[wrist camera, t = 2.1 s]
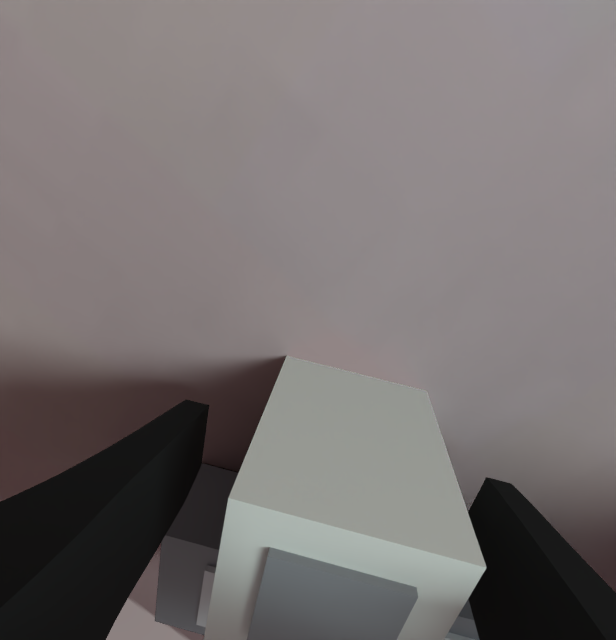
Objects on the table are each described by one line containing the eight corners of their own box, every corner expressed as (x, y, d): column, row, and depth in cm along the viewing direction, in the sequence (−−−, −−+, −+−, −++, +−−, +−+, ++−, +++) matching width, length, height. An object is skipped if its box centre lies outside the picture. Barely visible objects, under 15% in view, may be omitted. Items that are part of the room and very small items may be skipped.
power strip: (569, 556, 11) (638, 678, 9) (515, 630, 13) (560, 755, 10) (119, 437, 12) (47, 513, 9) (118, 521, 13) (55, 609, 11)
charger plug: (426, 389, 10) (489, 578, 5) (383, 498, 12) (403, 720, 7) (286, 355, 10) (225, 505, 5) (263, 466, 12) (198, 660, 7)
